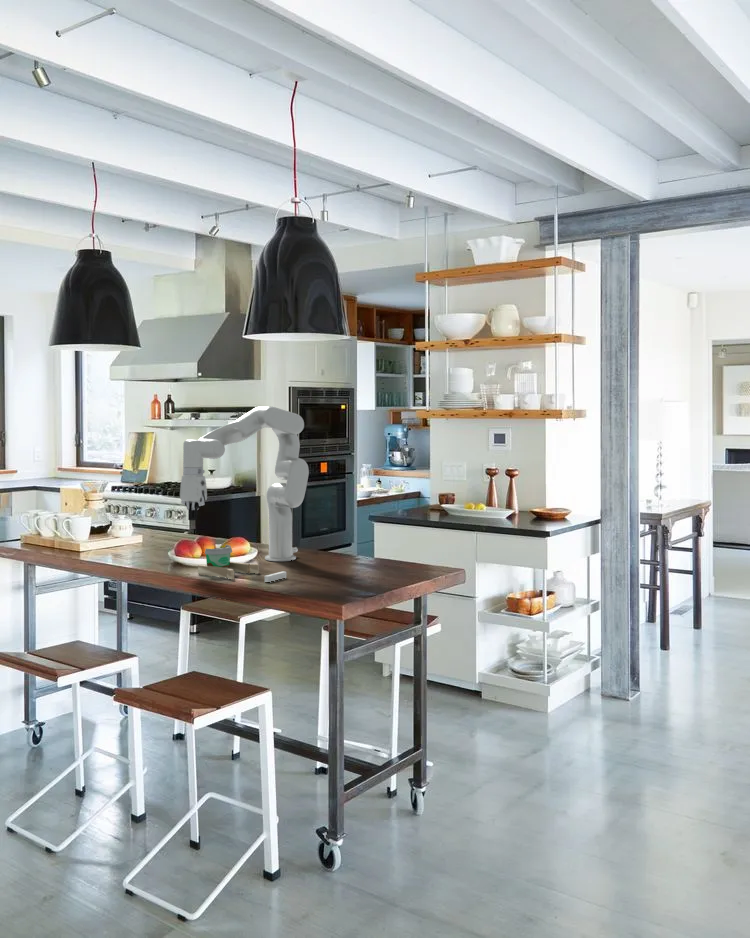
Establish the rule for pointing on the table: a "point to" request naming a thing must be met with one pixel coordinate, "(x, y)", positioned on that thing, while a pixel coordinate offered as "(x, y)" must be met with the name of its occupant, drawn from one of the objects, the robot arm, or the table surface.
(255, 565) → the chute
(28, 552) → the table surface
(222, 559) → the food container
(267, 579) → the white notched bar
